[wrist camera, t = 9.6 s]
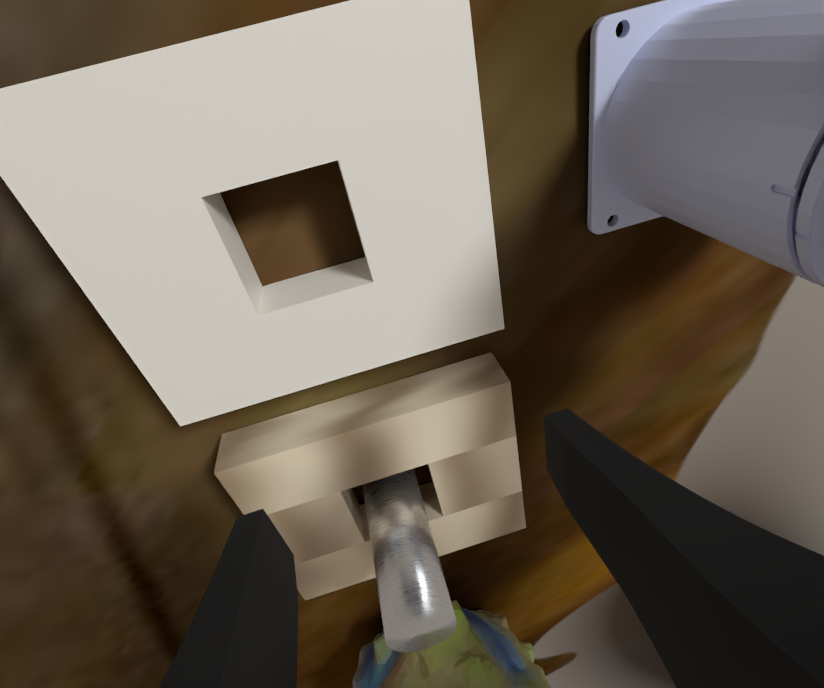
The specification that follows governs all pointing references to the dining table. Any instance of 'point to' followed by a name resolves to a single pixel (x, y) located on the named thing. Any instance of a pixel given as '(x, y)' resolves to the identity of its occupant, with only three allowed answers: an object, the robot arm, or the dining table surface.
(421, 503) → the steel peg
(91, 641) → the dining table surface
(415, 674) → the decorative rock
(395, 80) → the socket block
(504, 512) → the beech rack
